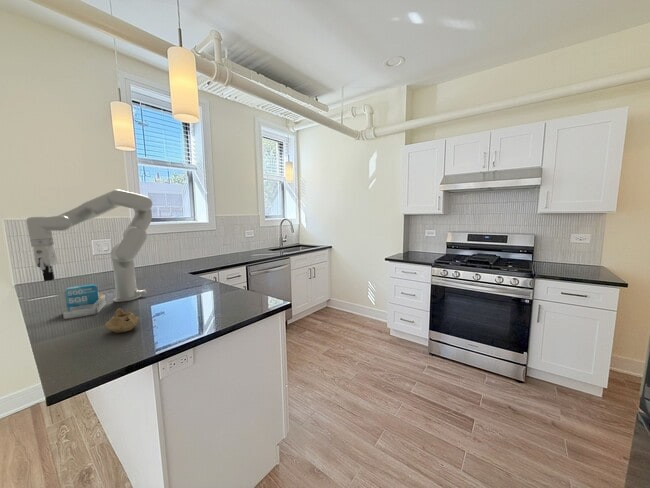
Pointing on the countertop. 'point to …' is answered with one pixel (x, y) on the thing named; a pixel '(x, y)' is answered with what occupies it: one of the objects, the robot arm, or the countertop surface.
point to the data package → (81, 295)
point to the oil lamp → (122, 321)
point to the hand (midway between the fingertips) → (49, 280)
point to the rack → (86, 309)
